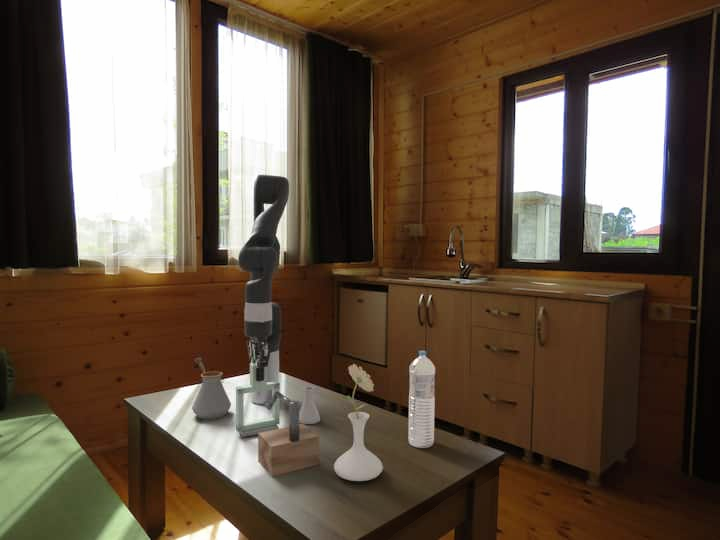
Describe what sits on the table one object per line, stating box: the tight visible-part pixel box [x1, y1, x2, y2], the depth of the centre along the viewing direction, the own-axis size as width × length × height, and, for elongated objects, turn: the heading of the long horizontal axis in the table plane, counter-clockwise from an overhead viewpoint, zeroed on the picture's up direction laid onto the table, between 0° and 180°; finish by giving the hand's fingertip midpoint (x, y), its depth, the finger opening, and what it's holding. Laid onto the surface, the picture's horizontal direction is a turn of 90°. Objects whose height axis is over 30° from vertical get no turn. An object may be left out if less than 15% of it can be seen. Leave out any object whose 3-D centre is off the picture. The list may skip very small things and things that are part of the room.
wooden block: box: [257, 423, 320, 477], centre depth 113 cm, size 9×12×7 cm
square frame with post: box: [235, 362, 281, 438], centre depth 131 cm, size 5×12×19 cm, turn 121°
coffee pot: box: [191, 357, 232, 421], centre depth 148 cm, size 21×12×15 cm, turn 34°
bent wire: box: [263, 391, 300, 442], centre depth 118 cm, size 21×2×9 cm, turn 31°
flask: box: [299, 386, 321, 425], centre depth 141 cm, size 7×7×10 cm
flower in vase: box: [333, 363, 384, 482], centre depth 108 cm, size 13×11×25 cm
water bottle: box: [407, 350, 436, 449], centre depth 125 cm, size 7×7×25 cm
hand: (258, 379), depth 131 cm, fingers closed on square frame with post, 2 cm apart
